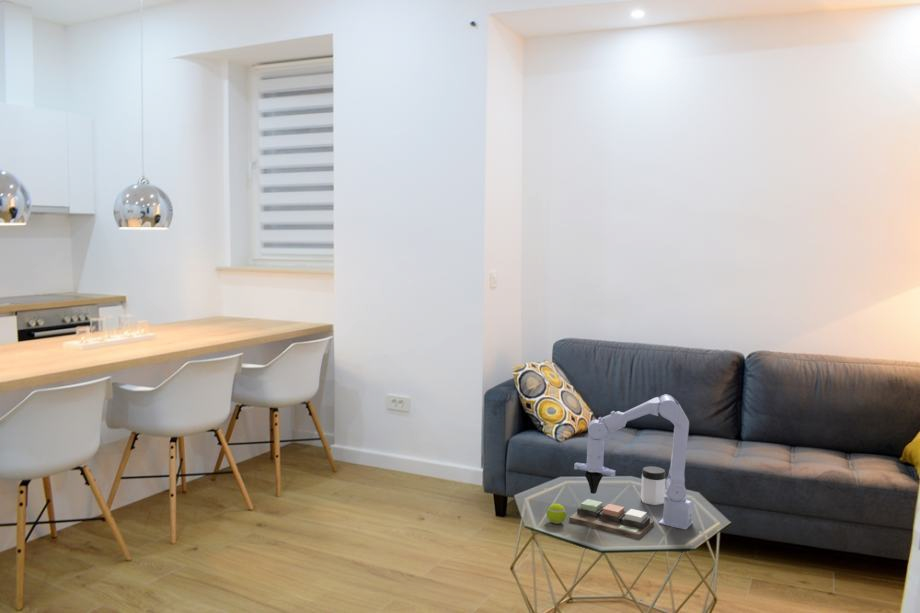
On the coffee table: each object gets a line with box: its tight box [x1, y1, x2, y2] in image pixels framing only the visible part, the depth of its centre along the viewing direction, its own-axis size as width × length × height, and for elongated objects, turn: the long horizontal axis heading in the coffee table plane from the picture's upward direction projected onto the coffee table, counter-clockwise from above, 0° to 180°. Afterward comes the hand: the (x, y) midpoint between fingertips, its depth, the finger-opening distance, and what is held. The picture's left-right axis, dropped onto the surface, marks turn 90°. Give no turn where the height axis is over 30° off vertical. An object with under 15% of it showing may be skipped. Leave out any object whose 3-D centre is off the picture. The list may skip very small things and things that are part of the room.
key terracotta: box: [603, 503, 625, 517], centre depth 267 cm, size 6×6×2 cm
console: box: [568, 505, 655, 540], centre depth 266 cm, size 25×14×3 cm, turn 57°
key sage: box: [580, 498, 603, 512], centre depth 271 cm, size 6×6×2 cm
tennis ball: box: [546, 503, 567, 525], centre depth 264 cm, size 7×7×7 cm
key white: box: [625, 508, 648, 523], centre depth 262 cm, size 6×6×2 cm
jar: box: [640, 465, 667, 506], centre depth 287 cm, size 9×8×12 cm
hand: (593, 492), depth 271 cm, fingers closed
